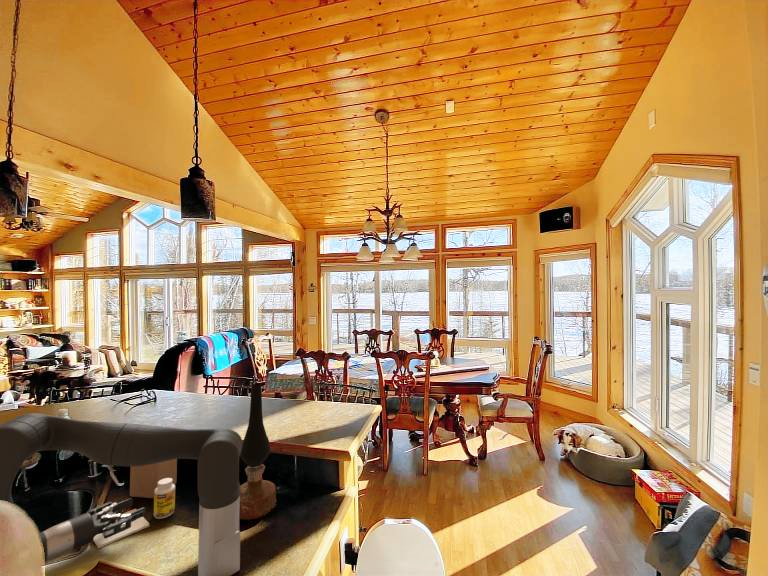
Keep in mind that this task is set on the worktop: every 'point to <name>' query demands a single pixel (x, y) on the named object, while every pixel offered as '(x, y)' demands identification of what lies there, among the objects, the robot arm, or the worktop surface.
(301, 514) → the worktop surface
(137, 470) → the wooden block
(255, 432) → the oil lamp
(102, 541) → the letter board
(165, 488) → the supplement bottle
